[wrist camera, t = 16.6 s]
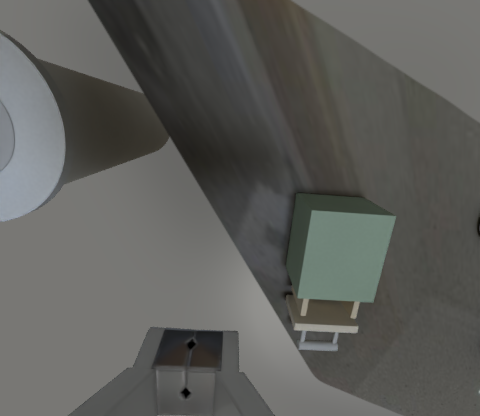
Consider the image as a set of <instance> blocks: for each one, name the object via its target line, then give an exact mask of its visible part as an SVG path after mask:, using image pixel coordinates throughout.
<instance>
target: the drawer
mask: <svg viewBox="0 0 480 416" xmlns="http://www.w3.org/2000/svg"><path fill="white" fill-rule="evenodd" d="M292 292H293V295H286V304H287V307H288V311H289V314H290V318H291V321H292V324H293V328H294V330H301V334H300V339H298V340H297V348H298V349H301V350H323V351H337V350H338V345H337V338H338V334H339V332H342V333H357V331H358V325H357V323H356V322H355V320H354V318H356V315H357V311H358V307H359V303H360V302H356V301H337V300H319V299H300V298H297V296H296V294H295V291H294V288H293V285H292ZM306 331H321V332H333V336H332V340H331V341H325V340H305V335H306Z"/></svg>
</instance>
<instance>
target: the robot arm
mask: <svg viewBox="0 0 480 416" xmlns="http://www.w3.org/2000/svg"><path fill="white" fill-rule="evenodd" d="M14 143H15V137H14V130H13V125H12V122H11V119H10V117H9V114H8V112H7V110H6V109H5V107H4V105H3V104H2V102H1V101H0V171H2V170H3V169H4V168H5V167H6V165H7V164H8V163H9V161H10V159H11V157H12V154H13V150H14ZM238 342H239V341H238V331H215V330H214V331H213V330H191V329H177V328H158V327H151V328H150V329H149V330H148V332H147V335H146V337H145V339H144V342H143V344H142V347H141V349H140V351H139V353H138V356H137V358H136V361H135V363H134V365H133V368H127V369H126V370H124V371H123V372H122V373H120V374H119V375H118V376H117V377H116V378H114V379H113V380H112V381H110V382H109V383H108V384H107V385H106V386H104V387H103V388H102V389H100V390H99V391H98V392H97V393H95V394H94V395H93V396H92V397H90V398H89V399H88V400H87V401H85V402H84V403H83V404H82V405H80V406H79V407H78V408H77V409H75V411H73V412H72V413H71V414H69V415H68V416H157V415H186V416H275V415H274V414H273V412H272V411H271V410H270V408H269V407H268V405H267V404H266V403H265V401H264V400H263V399H262V397H261V396H260V394H259V393H258V392H257V390H256V389H255V387H254V386H253V385H252V383H251V382H250V381H249V379H248V378H247V376H246V375H245V374H244V373H243V372H239V346H238V344H239V343H238Z"/></svg>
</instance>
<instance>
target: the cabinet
mask: <svg viewBox="0 0 480 416" xmlns="http://www.w3.org/2000/svg"><path fill="white" fill-rule="evenodd" d="M395 219H396V216H395V215H393V214H392V213H390V212H388V211H387V210H385V209H383V208H381V207H380V206H378V205H376V204H374V203H373V202H371V201H369V200H367V199H365V198H360V197H346V196H332V195H318V194H304V193H296V199H295V206H294V213H293V220H292V227H291V234H290V240H289V247H288V254H287V261H286V269H287V271H288V274H289V277H290V280H291V282H292V285H293V288H294V291H295V294H296V296H297V298H300V299H319V300H337V301H356V302H373V301H374V297H375V294H376V290H377V286H378V282H379V279H380V275H381V271H382V267H383V264H384V260H385V256H386V253H387V249H388V245H389V241H390V238H391V234H392V230H393V226H394V223H395Z"/></svg>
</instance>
